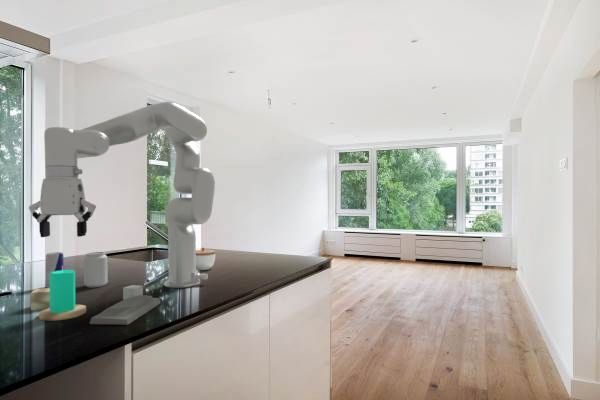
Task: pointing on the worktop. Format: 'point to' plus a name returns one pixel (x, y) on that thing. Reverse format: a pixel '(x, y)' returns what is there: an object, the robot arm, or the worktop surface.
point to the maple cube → (40, 299)
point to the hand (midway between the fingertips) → (63, 236)
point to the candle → (62, 291)
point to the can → (95, 269)
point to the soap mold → (126, 310)
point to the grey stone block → (132, 291)
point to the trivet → (62, 314)
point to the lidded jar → (204, 259)
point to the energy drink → (53, 264)
